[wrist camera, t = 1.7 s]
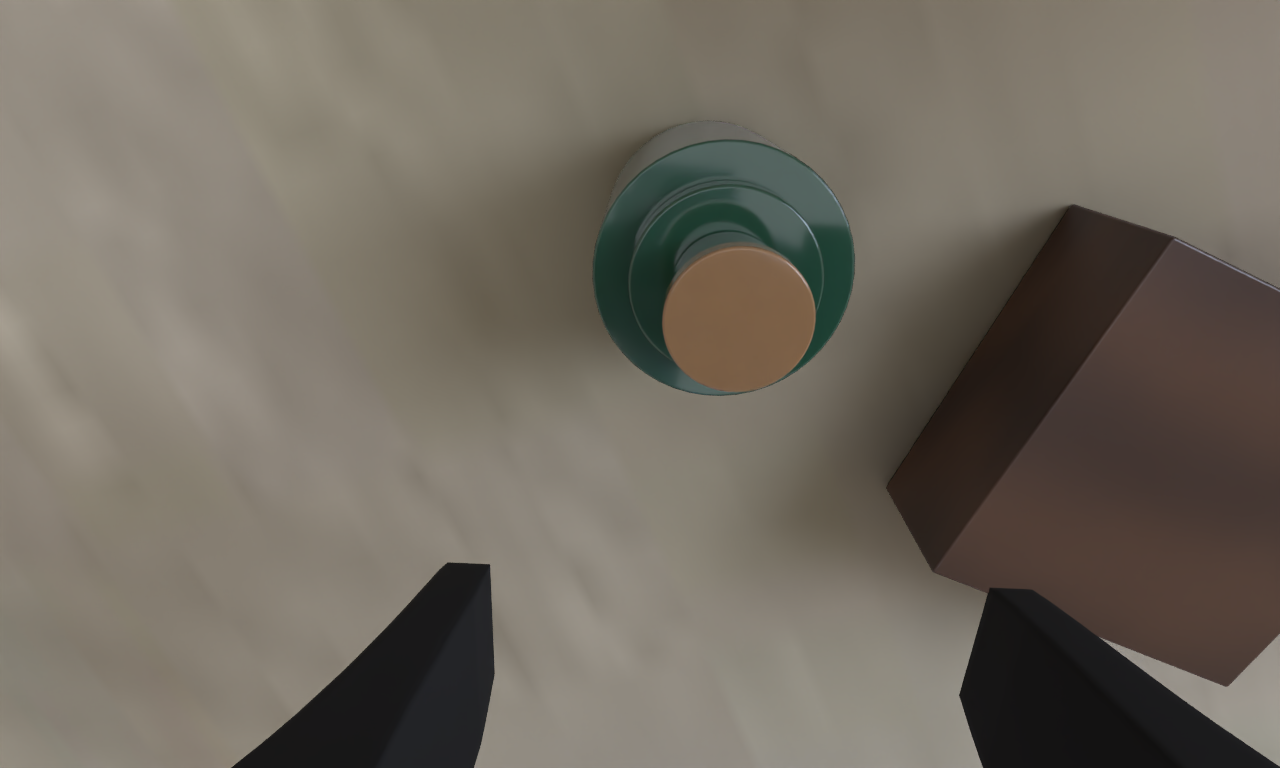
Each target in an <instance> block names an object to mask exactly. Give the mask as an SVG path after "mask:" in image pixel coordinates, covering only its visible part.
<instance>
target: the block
mask: <svg viewBox="0 0 1280 768" xmlns="http://www.w3.org/2000/svg"><path fill="white" fill-rule="evenodd" d="M886 489H887V491H888V493H889V495H890V496H891V498H892V500H893V502H894V504H895V505H896V507H897V509H898V511H899V512H900V514H901V516H902V518H903V520H904V521H905V523H906V525H907V527H908V529H909V530H910V532H911V534H912V536H913V538H914V539H915V541H916V543H917V545H918V547H919V548H920V550H921V552H922V554H923V555H924V557H925V559H926V561H927V563H928V564H929V566H930V568H931V570H932V571H933V572H934V573H937V574H939V575H942V576H945V577H947V578H950V579H952V580H955V581H957V582H960V583H962V584H965V585H968V586H970V587H973V588H975V589H978V590H980V591H983V592H985V593H988V592H989V588H1012V589H1032V590H1034V591H1035V592H1037V593H1038V594H1040V595H1041V596H1043V597H1044V598H1046V599H1047V600H1049V601H1050V602H1052V603H1053V604H1054V605H1056V606H1057V607H1059V608H1060V609H1061V610H1063V611H1064V612H1066V613H1067V614H1068V615H1070V616H1071V617H1072V618H1074V619H1075V620H1076V621H1078V622H1079V623H1080V624H1082V625H1083V626H1084V627H1086V628H1087V629H1088V630H1090V631H1091V632H1092V633H1094V634H1095V635H1096V636H1098V637H1100V638H1103V639H1105V640H1108V641H1110V642H1113V643H1116V644H1118V645H1121V646H1123V647H1126V648H1128V649H1131V650H1133V651H1136V652H1139V653H1141V654H1144V655H1146V656H1149V657H1151V658H1154V659H1156V660H1159V661H1162V662H1164V663H1167V664H1169V665H1172V666H1174V667H1177V668H1179V669H1182V670H1184V671H1187V672H1190V673H1192V674H1195V675H1197V676H1200V677H1202V678H1205V679H1207V680H1210V681H1213V682H1215V683H1218V684H1220V685H1223V686H1225V687H1227V686H1229V685H1230V684H1231V683H1232V682H1233V681H1234V680H1235V679H1236V678H1237V677H1238V676H1239V675H1240V674H1241V673H1242V672H1243V671H1244V670H1245V668H1246V667H1247V666H1248V665H1249V664H1250V663H1251V662H1252V661H1253V660H1254V659H1255V658H1256V657H1257V656H1258V655H1259V654H1260V653H1261V652H1262V651H1263V650H1264V649H1265V648H1266V647H1267V646H1268V645H1269V644H1270V643H1271V642H1272V641H1273V640H1274V639H1275V638H1276V637H1277V636H1278V635H1279V634H1280V289H1279V288H1277V287H1275V286H1273V285H1271V284H1269V283H1267V282H1265V281H1263V280H1261V279H1259V278H1257V277H1255V276H1253V275H1251V274H1249V273H1247V272H1245V271H1243V270H1241V269H1239V268H1237V267H1235V266H1233V265H1231V264H1229V263H1227V262H1225V261H1223V260H1221V259H1219V258H1217V257H1215V256H1213V255H1211V254H1209V253H1207V252H1204V251H1202V250H1200V249H1198V248H1196V247H1194V246H1192V245H1190V244H1188V243H1186V242H1184V241H1182V240H1180V239H1178V238H1176V237H1174V236H1171V235H1168V234H1164V233H1161V232H1158V231H1155V230H1152V229H1149V228H1146V227H1143V226H1140V225H1136V224H1133V223H1130V222H1127V221H1124V220H1121V219H1118V218H1115V217H1112V216H1109V215H1105V214H1102V213H1099V212H1096V211H1093V210H1090V209H1087V208H1084V207H1081V206H1078V205H1071V206H1070V208H1069V209H1068V211H1067V212H1066V214H1065V215H1064V217H1063V218H1062V220H1061V221H1060V223H1059V225H1058V226H1057V228H1056V229H1055V231H1054V232H1053V234H1052V235H1051V237H1050V238H1049V240H1048V241H1047V243H1046V244H1045V246H1044V247H1043V249H1042V250H1041V252H1040V254H1039V255H1038V257H1037V258H1036V260H1035V261H1034V263H1033V264H1032V266H1031V267H1030V269H1029V270H1028V272H1027V273H1026V275H1025V276H1024V278H1023V279H1022V281H1021V283H1020V284H1019V286H1018V287H1017V289H1016V290H1015V292H1014V293H1013V295H1012V296H1011V298H1010V299H1009V301H1008V302H1007V304H1006V305H1005V307H1004V308H1003V310H1002V312H1001V313H1000V315H999V316H998V318H997V319H996V321H995V322H994V324H993V325H992V327H991V328H990V330H989V331H988V333H987V334H986V336H985V337H984V339H983V341H982V342H981V344H980V345H979V347H978V348H977V350H976V351H975V353H974V354H973V356H972V357H971V359H970V360H969V362H968V363H967V365H966V366H965V368H964V370H963V371H962V373H961V374H960V376H959V377H958V379H957V380H956V382H955V383H954V385H953V386H952V388H951V389H950V391H949V392H948V394H947V395H946V397H945V399H944V400H943V402H942V403H941V405H940V406H939V408H938V409H937V411H936V412H935V414H934V415H933V417H932V418H931V420H930V421H929V423H928V424H927V426H926V428H925V429H924V431H923V432H922V434H921V435H920V437H919V438H918V440H917V441H916V443H915V444H914V446H913V447H912V449H911V450H910V452H909V453H908V455H907V457H906V458H905V460H904V461H903V463H902V464H901V466H900V467H899V469H898V470H897V472H896V473H895V475H894V476H893V478H892V479H891V481H890V483H889V484H888V486H887V488H886Z"/></svg>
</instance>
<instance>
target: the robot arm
mask: <svg viewBox="0 0 1280 768" xmlns="http://www.w3.org/2000/svg"><path fill="white" fill-rule="evenodd" d="M494 674H495V673H494V649H493V625H492V601H491V577H490V564H469V563H447V564H445V565H444V566H443V567H442V568H441V569H440V570H439V571H438V572H437V573H436V574H435V575H434V576H433V577H432V579H431V580H430V581H429V582H428V583H427V584H426V585H425V586H424V588H423V589H422V590H421V591H420V592H419V593H418V594H417V595H416V596H415V597H414V599H413V600H412V601H411V602H410V603H409V604H408V605H407V606H406V607H405V608H404V609H403V610H402V612H401V613H400V614H399V615H398V616H397V617H396V618H395V619H394V620H393V621H392V622H391V623H390V624H389V625H388V626H387V628H386V629H385V630H384V631H383V632H382V633H381V634H380V635H379V636H378V637H377V638H376V639H375V640H374V641H373V642H372V643H371V644H370V645H369V646H368V647H367V648H366V649H365V650H364V651H363V652H362V653H361V654H360V655H359V656H358V657H357V658H356V659H355V660H354V661H353V662H352V663H351V664H350V665H349V666H348V667H347V668H346V669H345V670H344V671H343V672H342V673H341V674H339V675H338V676H337V677H336V678H335V679H334V680H333V681H332V682H331V683H330V684H329V685H327V686H326V687H325V688H324V689H323V690H322V691H321V692H320V693H319V694H318V695H317V696H316V697H314V698H313V699H312V700H311V701H310V702H309V703H308V704H307V705H306V706H305V707H304V708H302V709H301V710H300V711H299V712H298V713H297V714H296V715H295V716H294V717H292V718H291V719H290V720H289V721H288V722H287V723H285V724H284V725H283V726H282V727H281V728H279V729H278V730H277V731H276V732H275V733H274V734H272V735H271V736H270V737H269V738H268V739H266V740H265V741H264V742H263V743H262V744H260V745H259V746H258V747H257V748H255V749H254V750H253V751H252V752H250V753H249V754H248V755H247V756H245V757H244V758H243V759H242V760H240V761H239V762H238V763H236V764H235V765H234V766H233V767H231V768H474V765H475V762H476V759H477V755H478V752H479V749H480V745H481V742H482V737H483V732H484V727H485V722H486V717H487V712H488V706H489V701H490V696H491V690H492V685H493V680H494ZM959 696H960V699H961V702H962V705H963V709H964V712H965V715H966V718H967V722H968V725H969V728H970V731H971V734H972V737H973V740H974V743H975V746H976V749H977V752H978V755H979V758H980V760H981V763H982V766H983V768H1280V767H1279V766H1278V765H1276V764H1275V763H1273V762H1272V761H1270V760H1269V759H1267V758H1266V757H1264V756H1263V755H1261V754H1260V753H1259V752H1257V751H1256V750H1254V749H1253V748H1251V747H1250V746H1248V745H1247V744H1245V743H1244V742H1242V741H1241V740H1239V739H1238V738H1237V737H1235V736H1234V735H1232V734H1231V733H1229V732H1228V731H1226V730H1225V729H1223V728H1222V727H1220V726H1219V725H1217V724H1216V723H1215V722H1213V721H1212V720H1210V719H1209V718H1208V717H1206V716H1205V715H1203V714H1202V713H1201V712H1199V711H1198V710H1196V709H1195V708H1194V707H1192V706H1191V705H1189V704H1188V703H1187V702H1185V701H1184V700H1182V699H1181V698H1180V697H1178V696H1177V695H1176V694H1174V693H1173V692H1171V691H1170V690H1169V689H1167V688H1166V687H1165V686H1163V685H1162V684H1161V683H1159V682H1158V681H1156V680H1155V679H1154V678H1152V677H1151V676H1150V675H1148V674H1147V673H1146V672H1144V671H1143V670H1142V669H1140V668H1139V667H1138V666H1136V665H1135V664H1134V663H1132V662H1131V661H1130V660H1128V659H1127V658H1126V657H1124V656H1123V655H1122V654H1120V653H1119V652H1118V651H1116V650H1115V649H1114V648H1112V647H1111V646H1110V645H1108V644H1107V643H1106V642H1104V641H1103V640H1102V639H1100V638H1099V637H1098V636H1096V635H1095V634H1094V633H1092V632H1091V631H1090V630H1088V629H1087V628H1086V627H1084V626H1083V625H1082V624H1080V623H1079V622H1078V621H1076V620H1075V619H1074V618H1072V617H1071V616H1070V615H1068V614H1067V613H1066V612H1064V611H1063V610H1061V609H1060V608H1059V607H1057V606H1056V605H1054V604H1053V603H1052V602H1050V601H1049V600H1047V599H1046V598H1044V597H1043V596H1041V595H1040V594H1038V593H1037V592H1035V591H1034V590H1032V589H1012V588H989V592H988V595H987V599H986V603H985V606H984V610H983V613H982V617H981V620H980V624H979V627H978V631H977V634H976V638H975V641H974V645H973V648H972V652H971V656H970V659H969V663H968V666H967V670H966V673H965V677H964V680H963V684H962V687H961V691H960V694H959Z"/></svg>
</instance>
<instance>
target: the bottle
mask: <svg viewBox="0 0 1280 768" xmlns="http://www.w3.org/2000/svg"><path fill="white" fill-rule="evenodd" d="M854 273H855V253H854V245H853V238H852V234H851V230H850V226H849V223H848V220H847V218H846V216H845V213H844V211H843V208H842V206H841V205H840V203H839V201H838V200H837V198H836V196H835V195H834V193H833V191H832V190H831V189H830V188H829V187H828V185H827V184H826V183H825V182H824V180H823V179H822V178H821V177H820V176H819V175H818V174H817V173H815V172H814V171H813V170H812V169H811V168H810V167H809V166H807V165H806V164H805V163H803V162H802V161H800V160H799V159H797V158H796V157H794V156H793V155H791V154H790V153H788V152H786V151H785V150H783V149H781V148H780V147H778V146H777V145H775V144H773V143H772V142H770V141H769V140H767V139H765V138H764V137H762V136H760V135H759V134H757V133H755V132H753V131H751V130H749V129H747V128H745V127H742V126H739V125H736V124H732V123H727V122H722V121H696V122H690V123H686V124H681V125H678V126H675V127H673V128H670V129H668V130H665V131H664V132H662V133H660V134H658V135H656V136H655V137H653V138H652V139H650V140H649V141H648V142H646V143H645V144H644V145H643V146H642V147H641V148H639V149H638V150H637V151H636V152H635V153H634V154H633V156H632V157H631V158H630V159H629V161H628V162H627V163H626V164H625V166H624V168H623V169H622V171H621V173H620V174H619V176H618V178H617V180H616V183H615V185H614V187H613V190H612V193H611V196H610V199H609V202H608V205H607V209H606V212H605V215H604V218H603V221H602V224H601V227H600V231H599V234H598V237H597V241H596V244H595V250H594V257H593V275H592V279H593V288H594V296H595V300H596V303H597V307H598V311H599V314H600V316H601V319H602V321H603V324H604V326H605V328H606V330H607V331H608V333H609V335H610V337H611V338H612V340H613V341H614V343H615V344H616V345H617V347H618V348H619V349H620V351H621V352H622V353H623V354H624V355H625V356H626V357H627V358H628V359H629V360H630V361H631V362H632V363H633V364H634V365H635V366H637V367H638V368H639V369H640V370H642V371H643V372H644V373H646V374H647V375H649V376H651V377H652V378H654V379H656V380H657V381H659V382H661V383H663V384H666V385H668V386H670V387H673V388H676V389H679V390H682V391H686V392H689V393H695V394H701V395H715V396H724V395H737V394H742V393H747V392H752V391H755V390H759V389H762V388H765V387H768V386H770V385H772V384H774V383H777V382H779V381H781V380H783V379H785V378H786V377H788V376H790V375H791V374H793V373H795V372H796V371H798V370H799V369H800V368H801V367H803V366H804V365H805V364H806V363H808V362H809V361H810V360H811V359H812V358H813V357H814V356H815V355H816V354H817V353H818V352H819V351H820V350H821V349H822V348H823V347H824V345H825V344H826V343H827V341H828V340H829V339H830V338H831V336H832V335H833V333H834V331H835V330H836V328H837V326H838V325H839V323H840V321H841V319H842V317H843V315H844V312H845V310H846V308H847V305H848V302H849V298H850V295H851V291H852V286H853V280H854Z"/></svg>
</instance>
